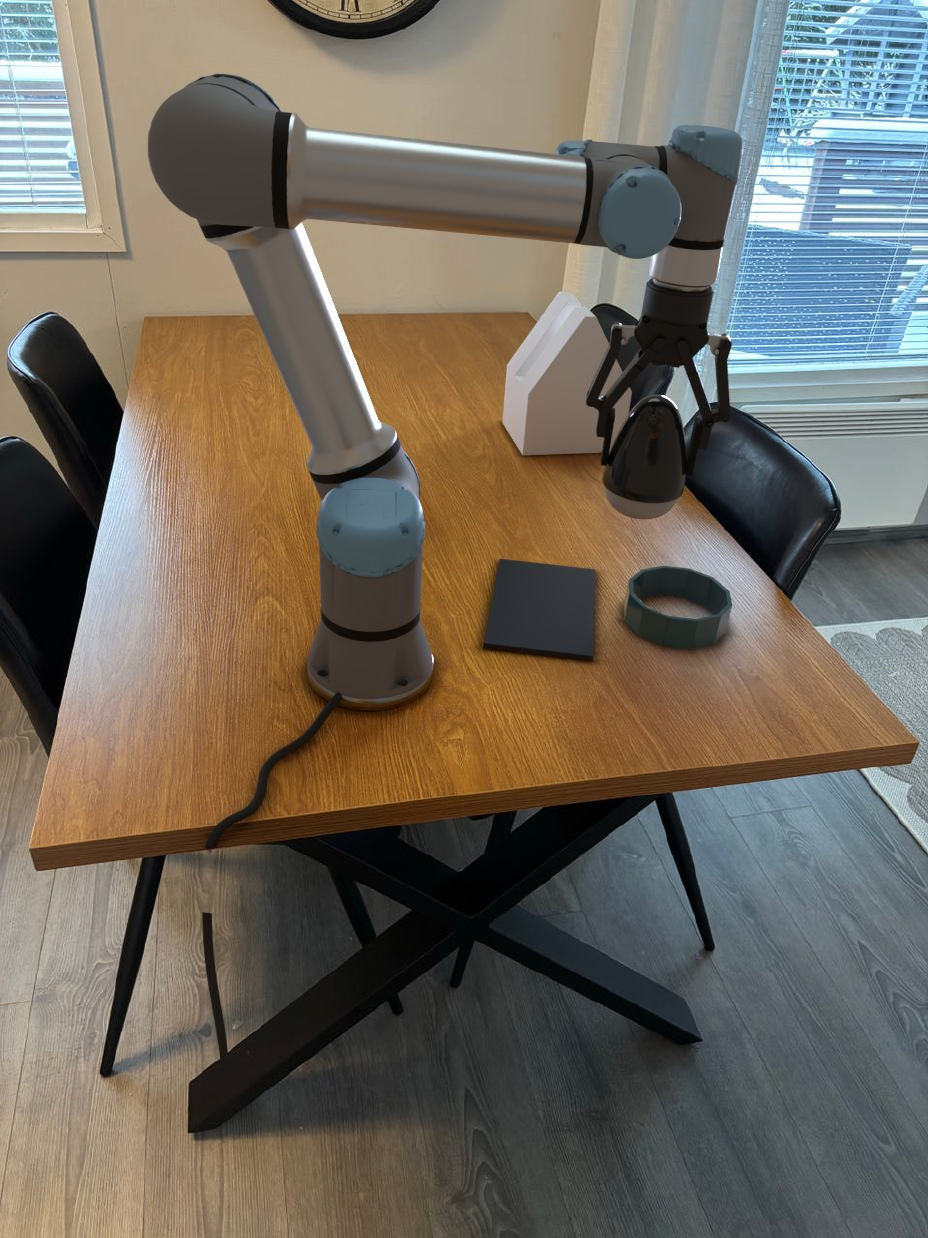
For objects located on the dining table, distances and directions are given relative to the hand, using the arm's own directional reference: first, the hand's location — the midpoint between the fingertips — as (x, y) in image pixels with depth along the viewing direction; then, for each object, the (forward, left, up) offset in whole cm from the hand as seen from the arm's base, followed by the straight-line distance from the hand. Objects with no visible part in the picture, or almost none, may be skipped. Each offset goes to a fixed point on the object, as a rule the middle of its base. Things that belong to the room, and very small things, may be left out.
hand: (646, 466), depth 120 cm
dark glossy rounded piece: (0, 0, -6) cm, 6 cm away
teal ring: (+1, -7, -22) cm, 23 cm away
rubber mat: (0, +11, -22) cm, 25 cm away
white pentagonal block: (+61, +11, -22) cm, 65 cm away
